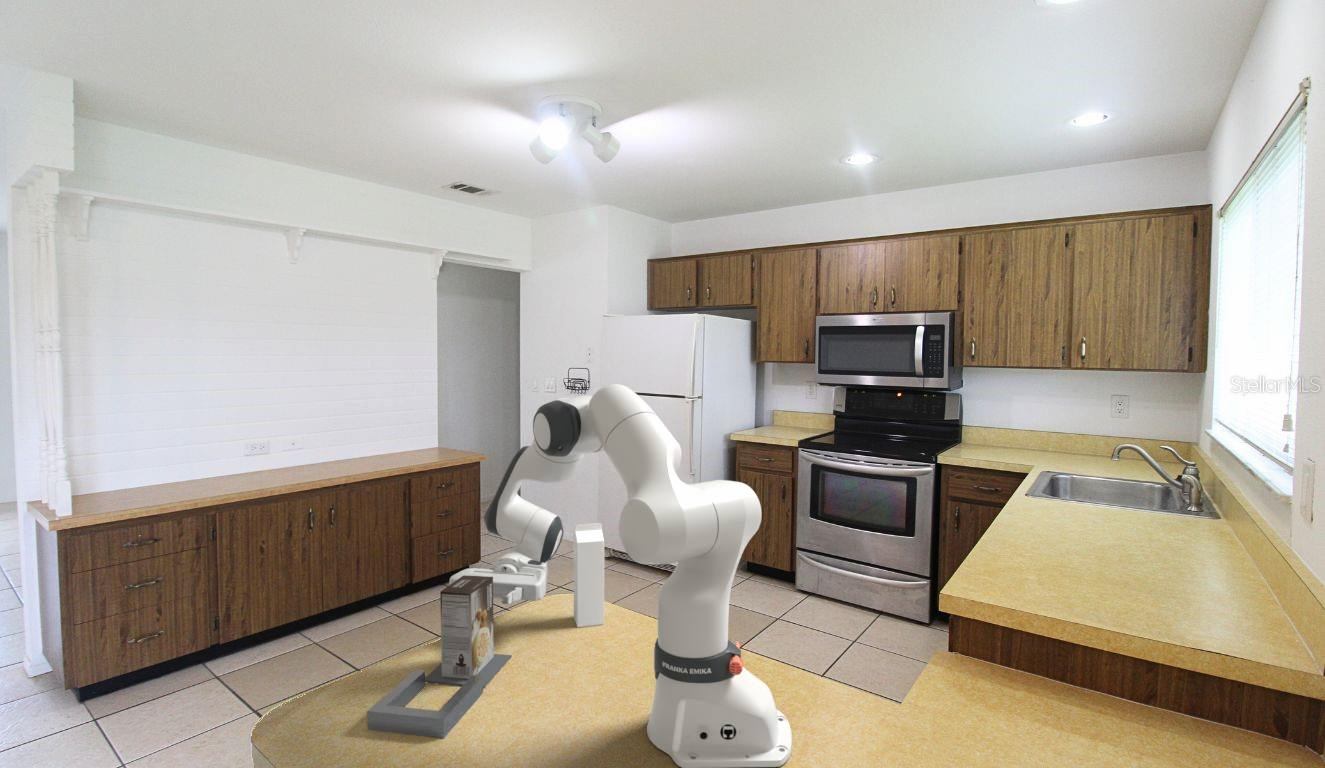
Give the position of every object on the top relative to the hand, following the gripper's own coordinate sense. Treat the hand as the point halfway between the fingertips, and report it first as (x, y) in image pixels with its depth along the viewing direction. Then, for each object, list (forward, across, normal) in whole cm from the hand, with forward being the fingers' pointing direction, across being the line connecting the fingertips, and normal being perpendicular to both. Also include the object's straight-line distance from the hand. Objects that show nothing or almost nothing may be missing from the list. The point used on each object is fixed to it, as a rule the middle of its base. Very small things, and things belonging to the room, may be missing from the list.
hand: (482, 598), depth 125 cm
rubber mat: (+7, +1, +11) cm, 13 cm away
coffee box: (+7, 0, +11) cm, 13 cm away
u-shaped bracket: (+21, 0, +11) cm, 24 cm away
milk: (-18, +17, +11) cm, 27 cm away
